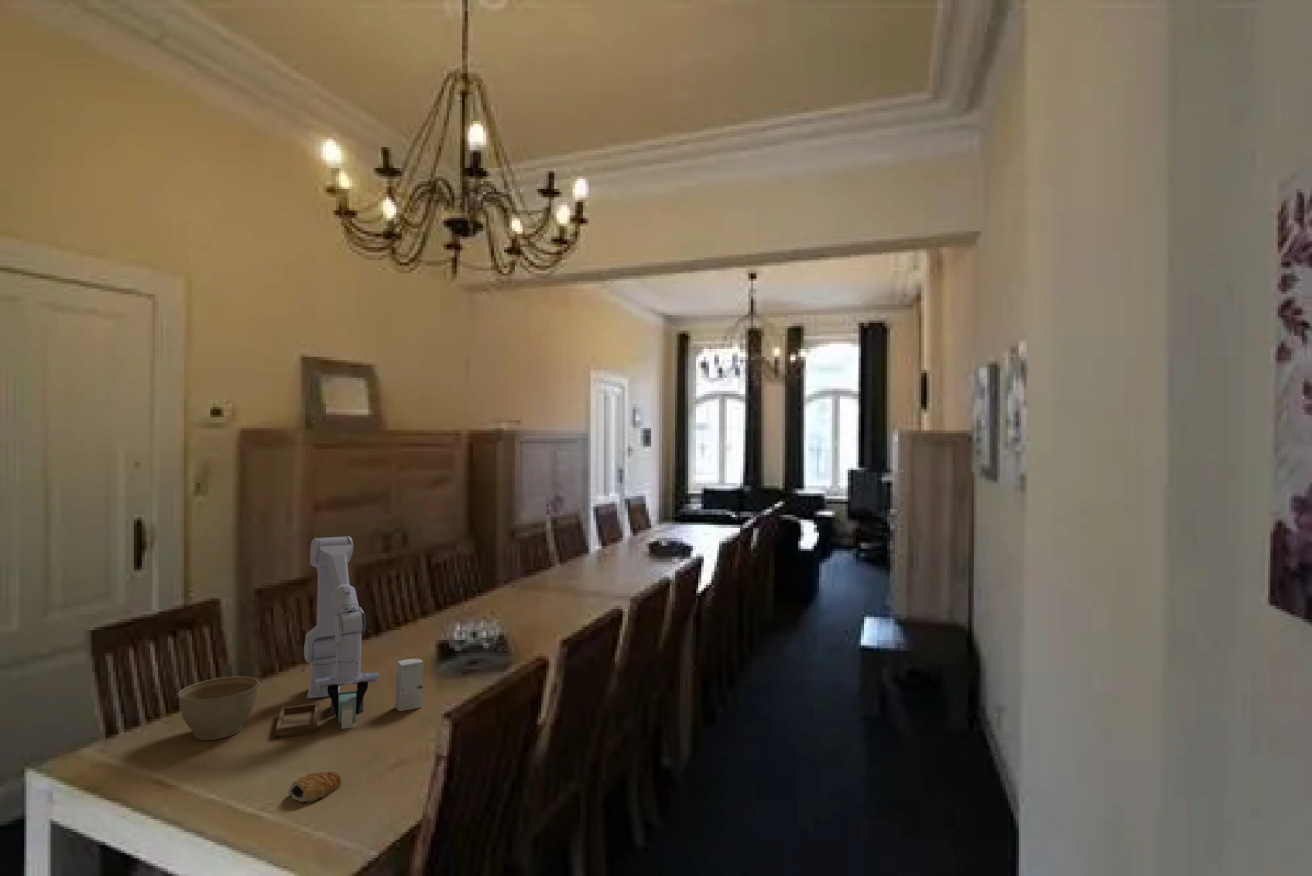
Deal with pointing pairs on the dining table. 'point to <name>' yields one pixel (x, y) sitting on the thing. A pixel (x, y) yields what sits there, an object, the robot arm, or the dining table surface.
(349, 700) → the stacked two-tone block
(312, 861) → the dining table surface
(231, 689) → the planter bowl
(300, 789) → the pastry
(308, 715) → the tray
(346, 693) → the bay
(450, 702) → the dining table surface
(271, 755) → the dining table surface
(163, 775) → the dining table surface
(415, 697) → the skincare box
